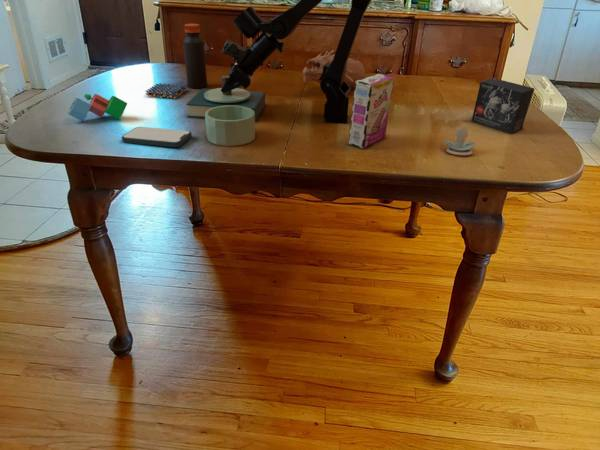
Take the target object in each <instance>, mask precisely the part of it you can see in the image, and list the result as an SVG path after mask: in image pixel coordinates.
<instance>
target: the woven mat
mask: <svg viewBox="0 0 600 450" xmlns="http://www.w3.org/2000/svg"><path fill="white" fill-rule="evenodd" d="M145 92H146V93H145V95H146V96H147V97H149V96H150V97H151V98H153V97H155V98H156V97H157V98H159V99H162V98H166V99H169V98H170V99H173V100H175V99H177V97H180V96H182V94H183V93H185V92H187V87H186V85H185V84H184V85H182V84H171V83H170V84H169V83H162V82H161V83H155V84H153V86H151V87H149V88H148V89H147V90H145Z"/></svg>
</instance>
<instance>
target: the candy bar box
mask: <svg viewBox="0 0 600 450" xmlns="http://www.w3.org/2000/svg"><path fill="white" fill-rule="evenodd" d="M394 82H395V77H394V76H390V75H386V74H382V73H377V74H374V75H371V76H368V77H364V79H361V80H357V81H355V87H354V90H353V100H352V101H353V102H352V109H351V118H350V119H351V120H350V128H349V136H348V145H350V146H352V147H356V148H358V149H363V150H364V149H366V148H368V147H370V146H372V145H373V144H375V143H378V142H380V141H381V140H384V139H385V138H386V134H387V127H388V120H389V113H390V106H391V101H392V94H393V87H394Z"/></svg>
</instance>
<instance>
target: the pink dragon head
mask: <svg viewBox="0 0 600 450" xmlns="http://www.w3.org/2000/svg"><path fill="white" fill-rule="evenodd" d="M324 51H325V49H322V51H321V52H320V53H319V54H318V55H317V56H315V57H313V58H310V59H308V60H307V61H306V64H307V65H310V66H312V67H309V68H308V66H304V68H303V70H302V74H303V79H302V80H303V83H304V85H306V84H307V83H308V82H311V81H314V82H317V83H318V84H320V82H321V80H319V78H320V77H321V75H322V72H323V67H324V65H325V64H326V63H327V62H328V61H329V62H330V63H331V62H332V60H333V58H334V55H335V53H334V52H335V51H334V49H332V50H331V51H329V52H328V51H326V52H325V53H324V55H322V54H323V52H324ZM333 53H334V54H333ZM365 76H366V71H365V67H364V64H363V63H362V62H361V61H359V60H354V58H348V60H347V65H346V73H345V79H344V81H345V82H346V83H347V85H348V86H349V87H350V88H355V81H357V80H361V79H364V78H365Z"/></svg>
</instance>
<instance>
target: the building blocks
mask: <svg viewBox="0 0 600 450" xmlns="http://www.w3.org/2000/svg"><path fill="white" fill-rule="evenodd" d="M83 96H84V98H85V100H87V101H90V102H89V103H88V102H86V101H85V100H83V99H81V98H78V97H75V98H74V100H73V102H72V103H71V105H70V107H69V110H68V112H67V114H68V116H71V117H73V118H75V119H77V120H79V121H81V122H84V121H85V119H86V118H87V116H88V114H89V112H90V113H92V114H94V115H96V116H98V117H101V118H102V117H103V116H104V114H107V115H108V116H111V117H113V118H115V119H117V120H119V119H120V118H121V117H122V116H123V115H124V112H125V110H126V108H127V105H128V103H127V102H126V101H124V100H123V99H121V98H119V97H117V96H115V95H112V96H111V97H110V98H109V99H107V98H106V97H103V96H101V95H100V94H98V93H94V94H93V96H92V95H91V94H87V93H85V94H84V95H83Z"/></svg>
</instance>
